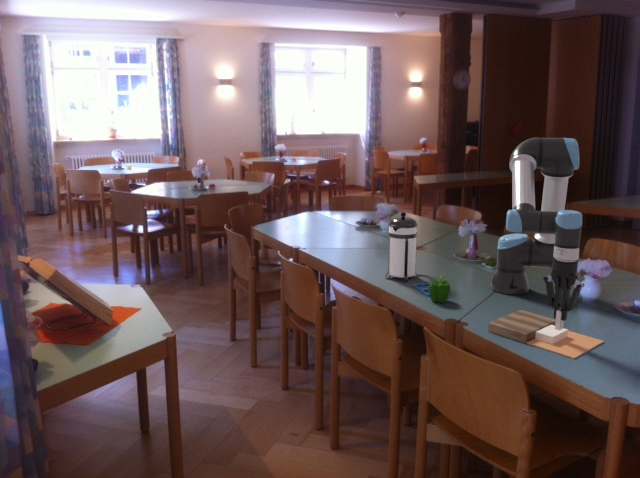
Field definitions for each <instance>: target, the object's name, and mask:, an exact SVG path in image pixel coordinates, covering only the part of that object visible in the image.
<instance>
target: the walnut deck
mask: <svg viewBox="0 0 640 478" xmlns="http://www.w3.org/2000/svg"><path fill="white" fill-rule="evenodd" d="M555 323H556V319H555V318H552V317H547V316H545V315H540V314H538V313H537V314H536V313H534V312H530V311H525V310H522V309H519V310H517V311H516V310H515V311H514V312H512V313H509V314H507V315H504V316H502V317H500V318H496V319H495V320H492V321H490V322H488V329H487V331H488V332H490V333H493V334H495V335H498V336H499V335H500V336H501V337H505V338H508V339H512V340H515V341H518V342H520V343H523V344H527V342H529V341H531V340H533V339H535V335H536V332H537V331H539V330H541V329H543V328H545V327H547V326H549V325H554V326H555Z"/></svg>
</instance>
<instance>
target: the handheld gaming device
mask: <svg viewBox="0 0 640 478" xmlns="http://www.w3.org/2000/svg"><path fill="white" fill-rule="evenodd" d="M429 283H430V282H427V283H416V284H412V287H413V288H415V289H417V290H418V291H419V292H420V293H422V294H423V295H425V296H427V297H430V293H429Z"/></svg>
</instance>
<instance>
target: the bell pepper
mask: <svg viewBox="0 0 640 478" xmlns="http://www.w3.org/2000/svg"><path fill="white" fill-rule="evenodd" d="M444 278H445V276H444V275H441V276H440V277H439V279H437V280H430V282H428V283H429V293H430V296H429V297H430V300H431V301H432V302H435V303H446V302H447V301H448V300H449V297H450V292H451V285H450V283H449V282H448V280H443V279H444Z"/></svg>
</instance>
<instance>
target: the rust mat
mask: <svg viewBox="0 0 640 478" xmlns="http://www.w3.org/2000/svg"><path fill="white" fill-rule="evenodd" d="M604 342H605V341H604V340H602V339H598V338H594V337H592V336H588V335H584V334H581V333H578V332H574V331H572V330H571V331H570V330H568V337H566V338H564V339H562V340H560V341H558V342H556V343H554V344H549V343H546V342H543V341H540V340H537V339H533V340H531V341H529V342H527V343H526V344H527V345H530V346H533V347H534V348H535V347H536V348H538V349H542V350H544V351H548V352H551V353H554V354H557V355H561V356H563V357H567V358H569V359H572V360H575V359H577V358H579V357H581V356H583V355H584V354H586V353H588V352H589V351H591V350H594V349H595V348H596V347H598V346H600V345H602V344H603V343H604Z"/></svg>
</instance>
